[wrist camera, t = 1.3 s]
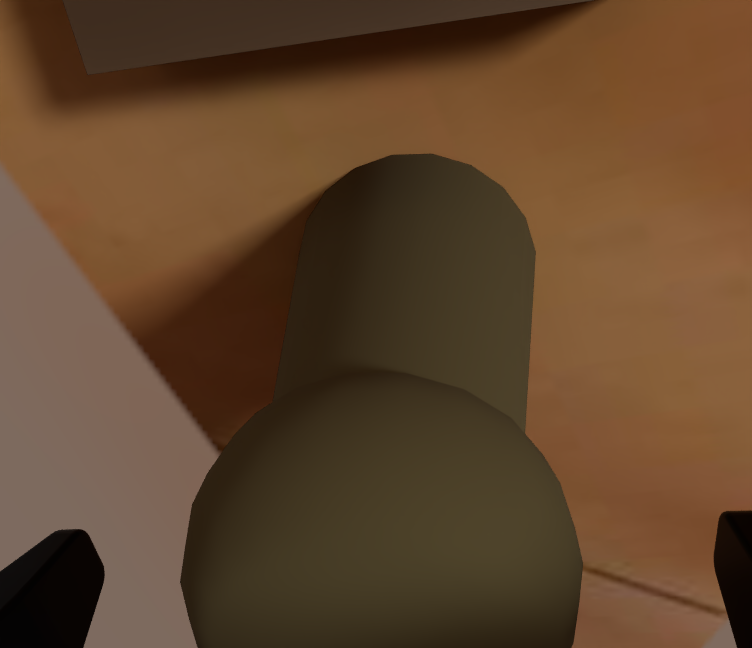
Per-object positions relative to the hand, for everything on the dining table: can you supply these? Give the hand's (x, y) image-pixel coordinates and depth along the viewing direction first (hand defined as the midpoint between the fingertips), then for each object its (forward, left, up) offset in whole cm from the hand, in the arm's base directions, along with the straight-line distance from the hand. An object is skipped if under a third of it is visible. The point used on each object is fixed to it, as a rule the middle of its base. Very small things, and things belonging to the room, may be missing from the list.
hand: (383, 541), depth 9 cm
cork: (0, 0, -9) cm, 9 cm away
